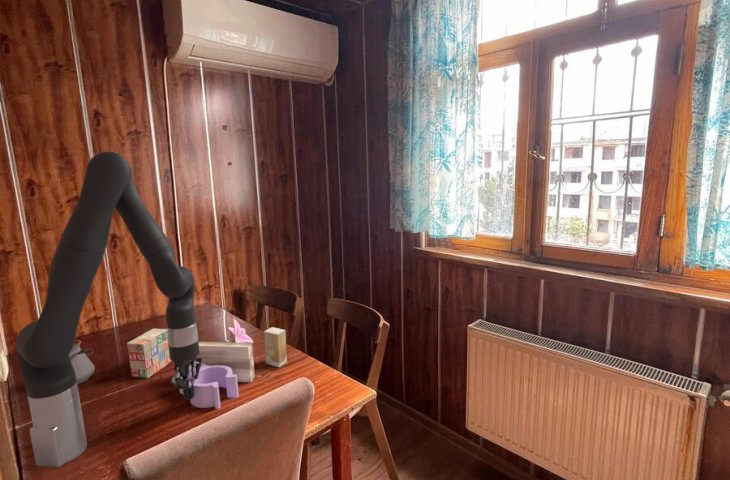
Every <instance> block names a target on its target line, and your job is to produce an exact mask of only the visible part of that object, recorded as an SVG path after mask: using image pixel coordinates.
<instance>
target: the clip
mask: <svg viewBox="0 0 730 480" xmlns="http://www.w3.org/2000/svg"><path fill="white" fill-rule="evenodd" d="M220 388H224V389H226V396H227V398H228V399H236V398H238V397H239V385H238V382H237V375H233V373H232V369H231V368H230V367H228V366H225V365H212V366H210V365H206V364H205V363H204V362H201V366H200V371H199V375H198V378H197V379H195V383H194V397H193V398H192V399H191V400H189V401H190V404H191V406H193V407H196V408H199V409H200V408H201V409H202V408H203V409H204V408H205V409H207V408H213V407H214V409H216V410H218V409H221V399H220V390H219V389H220ZM178 390H179V393H180V395H183V396H184V393H183V389H178Z"/></svg>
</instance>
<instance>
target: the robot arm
mask: <svg viewBox="0 0 730 480" xmlns="http://www.w3.org/2000/svg"><path fill="white" fill-rule="evenodd" d="M86 165H87V166H86V170H85V175H84V179H83V183H82V187H81V191H80V194H79V198H78V201H77V203H76V206H75V208H74V210H73V212H72V214H71V215H70V217H69V219H68V220H67V222H66V226H65V228H64V230H63V232H62V234H61V236H60V239H59V241H58V243H57V246H56V248H55V251H54V253H53V255H52V259H51V262H50V266H49V271H48V272H49V273H48V277H47V278H48V280H47V289H46V298H45V303H44V305H43V309H42V311H41V313H40V314H39V317H38V319H37V320H34V321H32V322H30V323H27V325H25V326H24V327H23V328H22V329H21V330H20V331H19V333H18V335H17V336H16V340H15V348H16V353H17V359H18V364H19V368H20V372H21V378H22V381H23V384H24V386H25V390H26V395H27V400H28V407H29V410H30V415H31V421H32V425H33V426H32V427H30V428H29V436H30V441H31V446H32V450H33V451H32V452H33V457H34V462H35V465H36V467H37V466H38V467H52V468H59V467H62V466H63V465H65V463H68V462H71V461H73V460H75V459H76V458H78V457H79V456H80V455H81V454H83V453H84V452H85V451H86V450H87V448H88V441H87V436H86V429H85V424H84V423H85V422H84V418H83V411H82V406H81V400H80V394H79V392H80V391H79V387H78V385H77V380H76V374H75V371H74V368H73V366H72V363H71V361H70V357H69V353H70V351H71V350H72V347H73V344H74V340H76V337H77V330H78V326H79V323H80V318H81V314H82V310H83V308H84V306H85V303H86V300H87V298H88V295H89V293H90V291H91V288H92V286H93V283H94V281H95V278H96V275H97V273H98V270H99V268H100V265H101V263H102V260H103V257H104V254H105V251H106V249H107V245H108V239H109V235H110V231H111V226H112V219H113V214H114V212H115V210H116V211H117V213H118V214H119V216H120V217H121V219H122V221H123V222H124V224H125V226H126V228H127V230H128V232H129V233H130V235H131V237H132V239H133V241H134V243H135V245H136V246H137V248H138V249H139V251H140V253H141V254H142V256H143V258H144V259H145V260H146V262H147V263H148V265H149V269H150V272H151V275H152V277H153V280H154V282H155V285H156V287H157V289H158V290H159V291H160V293H161V294H163V296H165V297H166V298H168V302H167V303H168V304H167V306H166V309H165V318H166V329H167V338H168V347H169V355H170V359H171V360H172V361H171V362H173V363H174V366H173V371H174V373H173V376H170V377H169V379H168V382H169V383H170V384H171V385H173V386H174V387H175V388H176V389H178V390H179V389H183V393H184V395H183V399H185V400H189V401H190V400H191V399H192V398H193V397H194V383H195V379H197V378H198V375H199V371H200V366H201V362H202V358H197V356H198V355H199V352H200V351H199V342H200V341H199V336H198V335H199V334H198V331H197V327H198V326H197V327H196V322H197V321H196V314H195V307H194V305H195V304H194V303H195V302H194V301H195V279H194V278H195V277H194V275H193V273H192V271H191V270H190V269H188V268H187V267H185V266H181V265H178V264H177V261H176V258H175V256H176V251H175V250H174V249H175V248H174V247H173V246H172V244H171V242H170V240H169V239H168V237H167V236H166V233H165V232H164V230H163V229H162V227H161V226H160V225H159V223H158V221H156V219H155V218H154V217H153V215H152V214H151V212H150V211H149V209H148V208H147V206H146V205H145V203H144V202H143V200H142V198H141V196H140V194H139V192H138V190H137V188H136V184H135V182H134V179H133V174H132V173H133V171H132V167H131V165H130V163H129V162H128V160H127V159H126V158H125V157H124V156H123V155H121V154H120V153H117V152H114V151H102V152H99V153H97V154H95V155H94V156H93V157H91V158H90V159H89V160H88V163H87V164H86Z"/></svg>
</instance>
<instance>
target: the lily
mask: <svg viewBox="0 0 730 480" xmlns="http://www.w3.org/2000/svg"><path fill="white" fill-rule="evenodd" d="M233 323H234V328H233V327H228V329H229V331H230V332H232V333H233V334H234V339H232V341H231V342H233V343H252V344H253V343H254V341H253V339H252V338H251V337H250V336H249V335H248V334H246V329H245V327H241V325H240V323H238V321H237V320H236V319H235V318H233ZM234 341H235V342H234Z"/></svg>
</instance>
